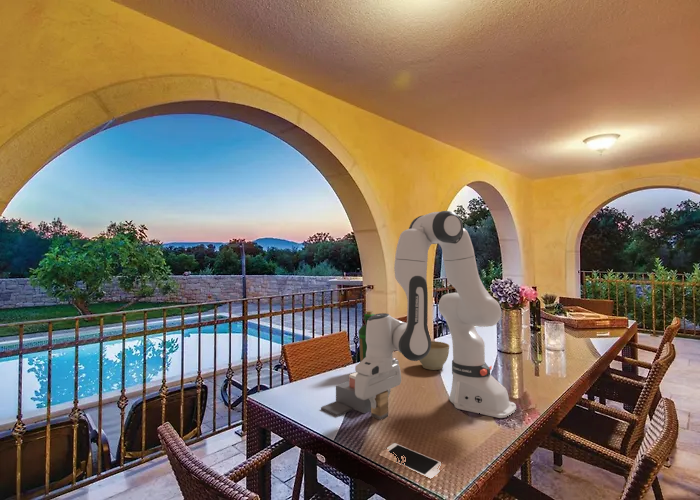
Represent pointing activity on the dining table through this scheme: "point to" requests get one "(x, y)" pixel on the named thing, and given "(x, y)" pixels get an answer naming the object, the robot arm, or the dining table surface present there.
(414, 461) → the cell phone
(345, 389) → the block
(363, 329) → the bottle
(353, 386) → the button
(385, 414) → the tan wooden block
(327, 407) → the mat
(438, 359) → the planter bowl
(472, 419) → the dining table surface
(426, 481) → the dining table surface
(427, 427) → the dining table surface
